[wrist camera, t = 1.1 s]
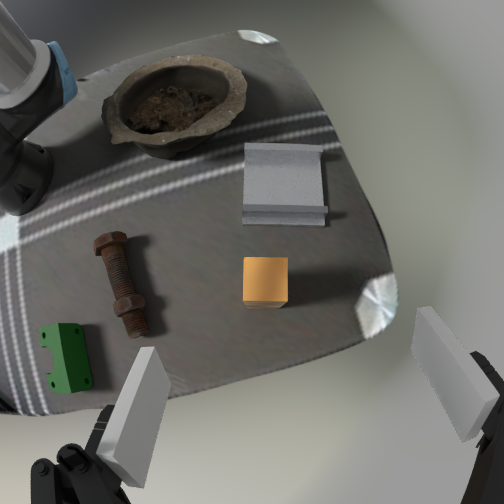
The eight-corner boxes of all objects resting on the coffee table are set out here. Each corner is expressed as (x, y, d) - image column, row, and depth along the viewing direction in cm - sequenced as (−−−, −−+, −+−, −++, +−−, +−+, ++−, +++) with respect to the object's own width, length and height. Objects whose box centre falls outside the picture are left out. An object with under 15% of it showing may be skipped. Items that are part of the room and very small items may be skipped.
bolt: (144, 336, 43) (114, 246, 46) (165, 327, 41) (132, 231, 44) (115, 344, 38) (85, 246, 41) (134, 335, 36) (101, 230, 39)
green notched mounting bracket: (75, 338, 45) (40, 318, 39) (96, 334, 44) (59, 313, 38) (70, 399, 39) (30, 385, 32) (92, 399, 37) (49, 385, 31)
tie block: (246, 308, 42) (242, 300, 31) (247, 276, 43) (243, 257, 32) (278, 308, 42) (287, 301, 31) (278, 277, 43) (287, 257, 32)
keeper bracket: (243, 225, 45) (242, 217, 42) (245, 151, 48) (244, 139, 45) (323, 227, 45) (328, 219, 42) (318, 153, 48) (321, 142, 45)
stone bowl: (126, 196, 47) (101, 166, 38) (118, 103, 54) (102, 72, 46) (269, 149, 48) (269, 110, 39) (229, 66, 56) (224, 32, 47)
